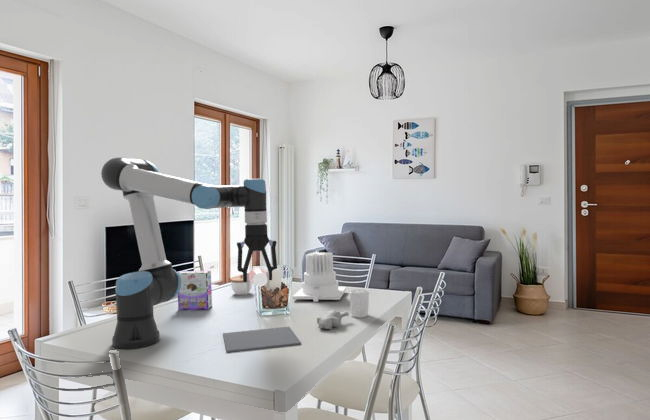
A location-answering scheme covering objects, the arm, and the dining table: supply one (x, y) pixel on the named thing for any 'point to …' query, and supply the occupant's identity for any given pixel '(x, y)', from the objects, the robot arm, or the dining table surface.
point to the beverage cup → (258, 276)
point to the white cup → (359, 302)
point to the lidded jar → (239, 285)
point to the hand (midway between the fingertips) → (258, 290)
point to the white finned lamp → (320, 279)
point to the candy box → (195, 290)
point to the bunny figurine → (331, 319)
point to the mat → (260, 339)
